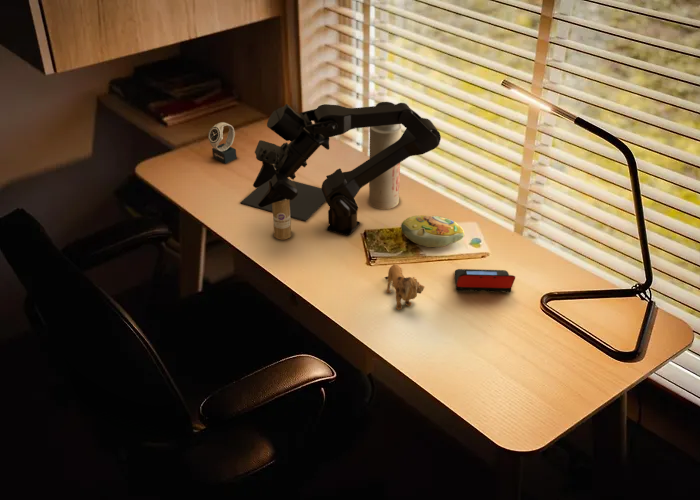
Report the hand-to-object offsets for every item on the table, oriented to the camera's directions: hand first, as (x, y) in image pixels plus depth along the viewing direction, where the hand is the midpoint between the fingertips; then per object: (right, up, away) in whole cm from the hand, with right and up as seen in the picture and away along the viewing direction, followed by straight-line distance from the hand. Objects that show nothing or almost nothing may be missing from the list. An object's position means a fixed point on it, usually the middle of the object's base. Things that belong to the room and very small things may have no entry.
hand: (256, 196), depth 191 cm
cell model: (+43, -10, +7) cm, 44 cm away
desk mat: (+6, +1, +23) cm, 24 cm away
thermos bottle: (+32, 0, +21) cm, 38 cm away
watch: (-14, +14, +41) cm, 46 cm away
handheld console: (+53, -22, -10) cm, 58 cm away
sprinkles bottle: (+6, -9, +8) cm, 14 cm away
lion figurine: (+34, -24, -13) cm, 44 cm away
